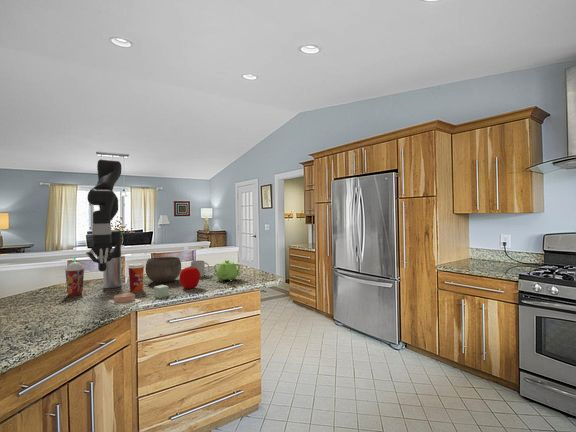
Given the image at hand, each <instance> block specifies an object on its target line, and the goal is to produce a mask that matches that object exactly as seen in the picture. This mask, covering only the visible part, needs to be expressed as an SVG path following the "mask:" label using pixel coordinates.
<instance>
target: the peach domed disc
mask: <svg viewBox="0 0 576 432" xmlns="http://www.w3.org/2000/svg"><path fill="white" fill-rule="evenodd" d="M113 299H114V303H113V304H115V303H128V302H132V301H134V300H135V299H136V294H135V293H134V292H126V293H119V294H116V295H114V296H113Z"/></svg>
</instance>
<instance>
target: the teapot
mask: <svg viewBox="0 0 576 432" xmlns="http://www.w3.org/2000/svg"><path fill="white" fill-rule="evenodd" d="M237 267H238V268H237ZM213 268H214V269H213V270H214V271H213V276H215V277H216V278H217V279H218V280H219V282H220V281H222V282H224V281H223V280H226V281H227V280H228V281H229V280H235V279H236V278H237V276H238V277H239V276H241V274H242V273H241V272H240V269H241V265H240V264H238V263H235V262H232V261H230V260H228V259H227V260H224V262H220V263H216V264H214V267H213ZM234 278H235V279H234Z"/></svg>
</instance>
